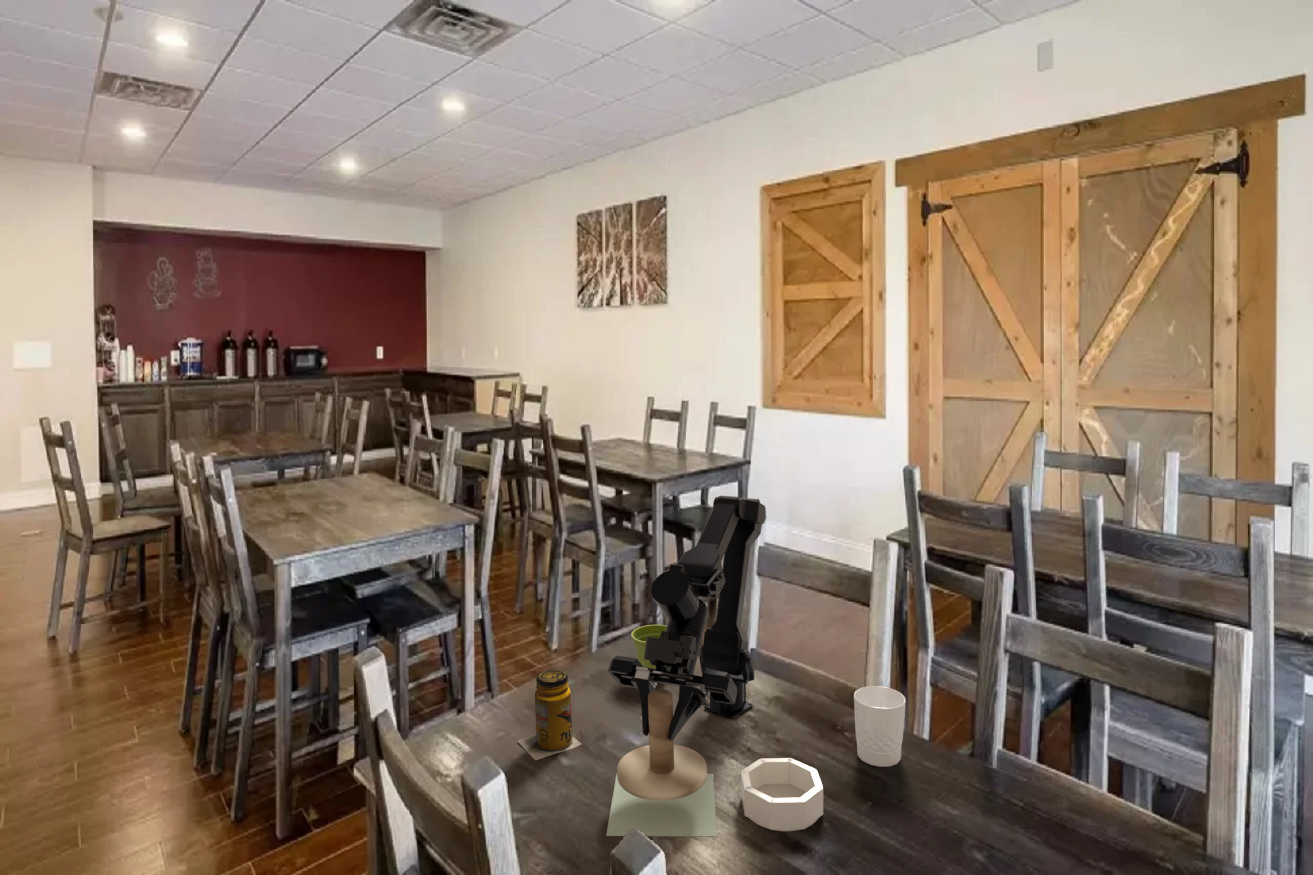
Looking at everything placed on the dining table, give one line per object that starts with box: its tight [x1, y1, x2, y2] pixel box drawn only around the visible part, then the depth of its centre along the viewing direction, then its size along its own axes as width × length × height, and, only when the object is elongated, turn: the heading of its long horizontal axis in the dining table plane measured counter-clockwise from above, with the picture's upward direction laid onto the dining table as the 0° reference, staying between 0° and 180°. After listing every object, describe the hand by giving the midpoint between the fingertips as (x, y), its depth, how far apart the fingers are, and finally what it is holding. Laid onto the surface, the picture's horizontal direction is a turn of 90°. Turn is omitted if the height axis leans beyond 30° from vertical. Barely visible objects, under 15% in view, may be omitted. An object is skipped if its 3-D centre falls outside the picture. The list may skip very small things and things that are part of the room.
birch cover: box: [616, 689, 708, 801], centre depth 110 cm, size 13×13×12 cm
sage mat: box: [605, 773, 717, 837], centre depth 112 cm, size 15×15×1 cm
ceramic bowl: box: [740, 757, 824, 832], centre depth 110 cm, size 11×11×4 cm
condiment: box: [517, 669, 582, 761], centre depth 129 cm, size 7×8×12 cm
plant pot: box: [630, 624, 667, 678], centre depth 155 cm, size 9×9×9 cm
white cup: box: [853, 685, 907, 768], centre depth 123 cm, size 8×8×10 cm
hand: (657, 737), depth 109 cm, fingers closed on birch cover, 3 cm apart
